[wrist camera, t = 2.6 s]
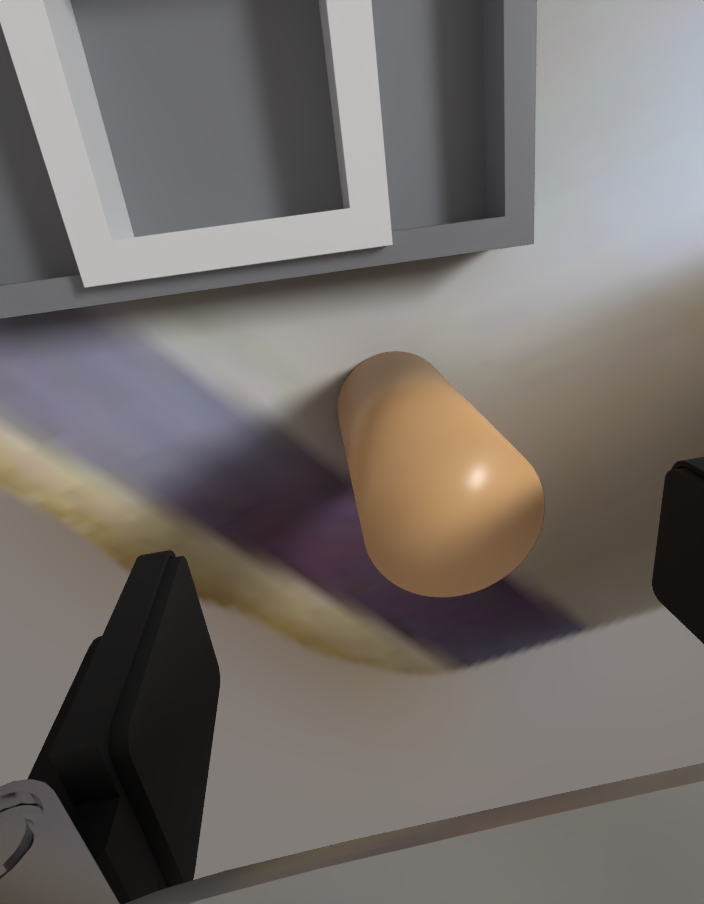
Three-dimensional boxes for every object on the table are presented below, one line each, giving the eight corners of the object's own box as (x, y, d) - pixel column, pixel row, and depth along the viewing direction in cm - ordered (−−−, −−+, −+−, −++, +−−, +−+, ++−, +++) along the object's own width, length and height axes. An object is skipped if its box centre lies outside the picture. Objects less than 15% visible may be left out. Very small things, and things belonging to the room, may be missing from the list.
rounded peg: (445, 343, 18) (546, 421, 11) (450, 449, 19) (543, 582, 12) (329, 360, 18) (351, 452, 10) (344, 466, 19) (373, 609, 12)
